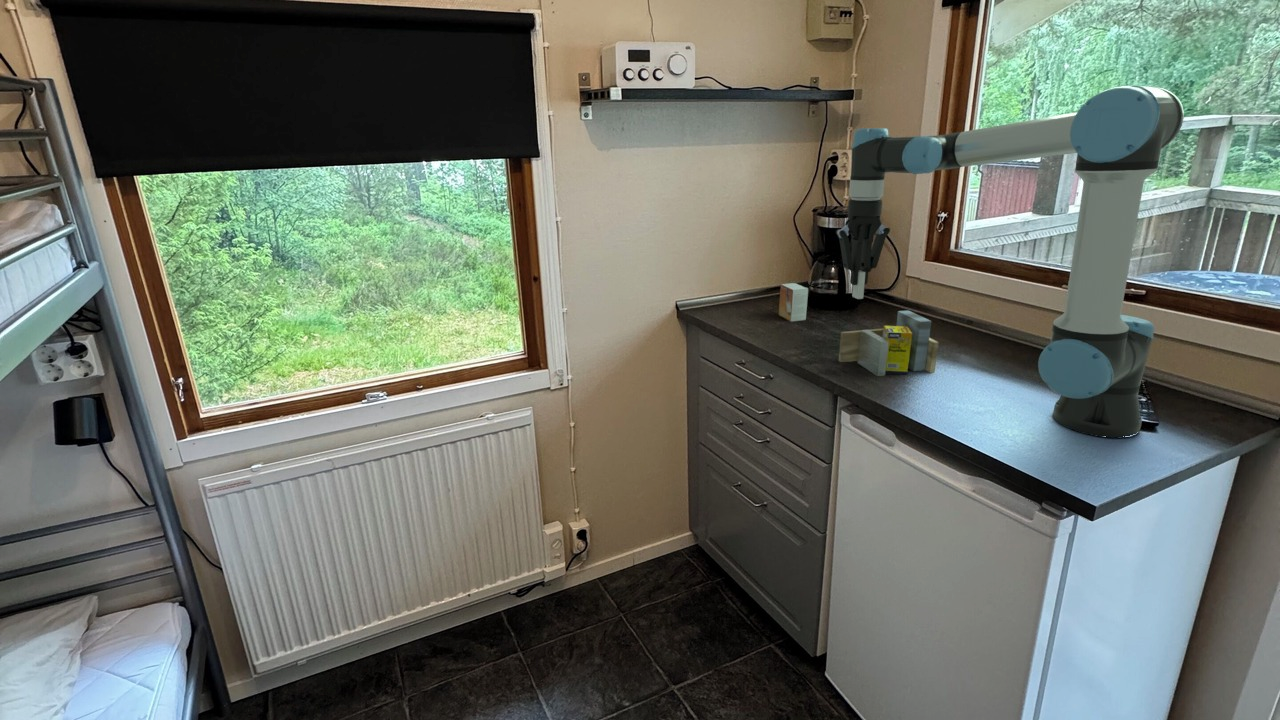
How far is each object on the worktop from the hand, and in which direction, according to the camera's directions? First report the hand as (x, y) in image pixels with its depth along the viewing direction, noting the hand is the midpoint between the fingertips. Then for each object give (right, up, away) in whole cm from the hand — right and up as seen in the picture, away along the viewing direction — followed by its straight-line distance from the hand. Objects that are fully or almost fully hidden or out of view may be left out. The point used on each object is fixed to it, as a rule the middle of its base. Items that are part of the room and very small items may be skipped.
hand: (857, 297), depth 161 cm
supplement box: (+11, -18, +7) cm, 22 cm away
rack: (+10, -17, +9) cm, 22 cm away
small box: (-4, -2, +53) cm, 53 cm away
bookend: (+6, -18, +8) cm, 20 cm away
